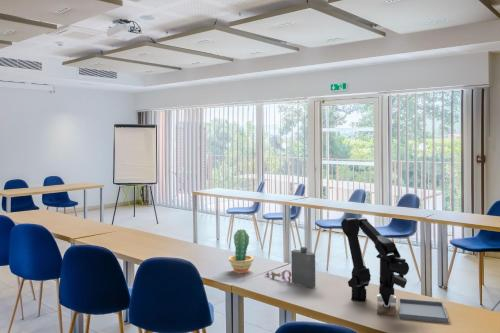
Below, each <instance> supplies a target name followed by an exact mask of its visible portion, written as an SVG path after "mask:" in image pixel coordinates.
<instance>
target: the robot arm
mask: <svg viewBox="0 0 500 333" xmlns="http://www.w3.org/2000/svg"><path fill="white" fill-rule="evenodd" d="M340 227H341V228H342V232H343V233H344V235H345V236H346V238H347V240H348V242H347V243H348V246H349V251H350V256H351V261H352V266H353V267H352V271H351V278H350V280H347V284H348V287H349V288H351V298H350V300H351V301H358V302H366V300H367V288H366V287H369V284H370V281H371V277H372V275H371V273H370V268H368V267H366V266H365V264H364V259H363V255H362V254H363V253H362V250H361V245H360V240H359V233H360V230H362V232H363V233H364V234H365V235H366V236H367V238H369V239H370V240H371V241H372V242H373V244H374V248H375V250H376V251H377V252H378V254H377V255H376V256H375V257H376V258H377V259H379V286H378V287H379V290H378V291H379V292H378V293H379V295H381V296H382V299H383V301H384V303H385V305H386V306H388V303H389V299H390V295H391V296H395V287H394V286H395V285H397V286H398V287H400V288H402V289H405V288H406V285H407V282H408V281H407V280H408V279H407V278H406V277H405V276H406V275H408V273H409V270H410V265H409V264H408V262H407V260H406V258H401V253H400V252H399V250H398V248H397V247H396V246H397V245H396V244H395V242H394V241H393V240H392V239H390V238H389V237H388V238H387V237H386V236H383V235H382V233H380V232H379V231H378V230H377V229H376V228H375V226H373V225H372V223H371V222H369V221H368V219H367V217H360V218H356V217H349V218H348V217H347V218H344V219H342V221H341V223H340Z"/></svg>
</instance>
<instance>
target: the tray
mask: <svg viewBox="0 0 500 333" xmlns="http://www.w3.org/2000/svg"><path fill="white" fill-rule="evenodd" d="M397 302H398V312H399V319H402V320H403V319H405V320H415V321H424V322H435V323H446V324H448V323H449V316H448V313H447V311H446V307H445V305H444V302H443V301H434V300H423V299H411V298H399V297H398V301H397Z"/></svg>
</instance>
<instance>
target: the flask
mask: <svg viewBox="0 0 500 333" xmlns="http://www.w3.org/2000/svg"><path fill="white" fill-rule="evenodd" d="M290 254H291V262H290V263H291V268H290V269H291V283H292V284H295V285H300V286H302V287H303V286H304V287H306V288H309V289H313V288H315V287H316V253H314V252H312V251H308V247H306V246H301V247H300V248H299V249H293V250H291V252H290Z"/></svg>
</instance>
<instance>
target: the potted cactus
mask: <svg viewBox="0 0 500 333" xmlns="http://www.w3.org/2000/svg"><path fill="white" fill-rule="evenodd" d="M233 242H234V243H233V244H234V248H235V252H234V253H235V254H234V255H231V256H229V257H228V262H229V263H230V266H231V268H232V269H233V272H234V273H236V274H246V273H249V269H250V268H251V266H252V262H254V260H255V259H254V256H253V255H250V254H247V251H248V246H249V244H250V236H249V234H248V233H247V231H246V229H244V228H242V229H241V228H240V229H237V230H236V231H235V233H234V234H233Z"/></svg>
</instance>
